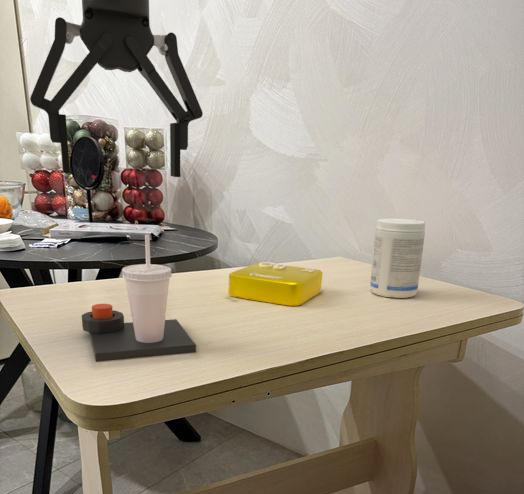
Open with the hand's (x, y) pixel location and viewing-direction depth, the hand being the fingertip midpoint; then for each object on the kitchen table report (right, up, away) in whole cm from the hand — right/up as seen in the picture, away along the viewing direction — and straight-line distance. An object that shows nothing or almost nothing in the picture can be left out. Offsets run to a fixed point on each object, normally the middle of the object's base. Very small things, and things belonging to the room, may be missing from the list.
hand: (122, 175), depth 67 cm
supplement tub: (+45, -11, +41) cm, 61 cm away
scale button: (-5, -18, +8) cm, 20 cm away
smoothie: (+2, -21, +5) cm, 22 cm away
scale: (+1, -21, +7) cm, 22 cm away
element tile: (+21, -11, +36) cm, 43 cm away
